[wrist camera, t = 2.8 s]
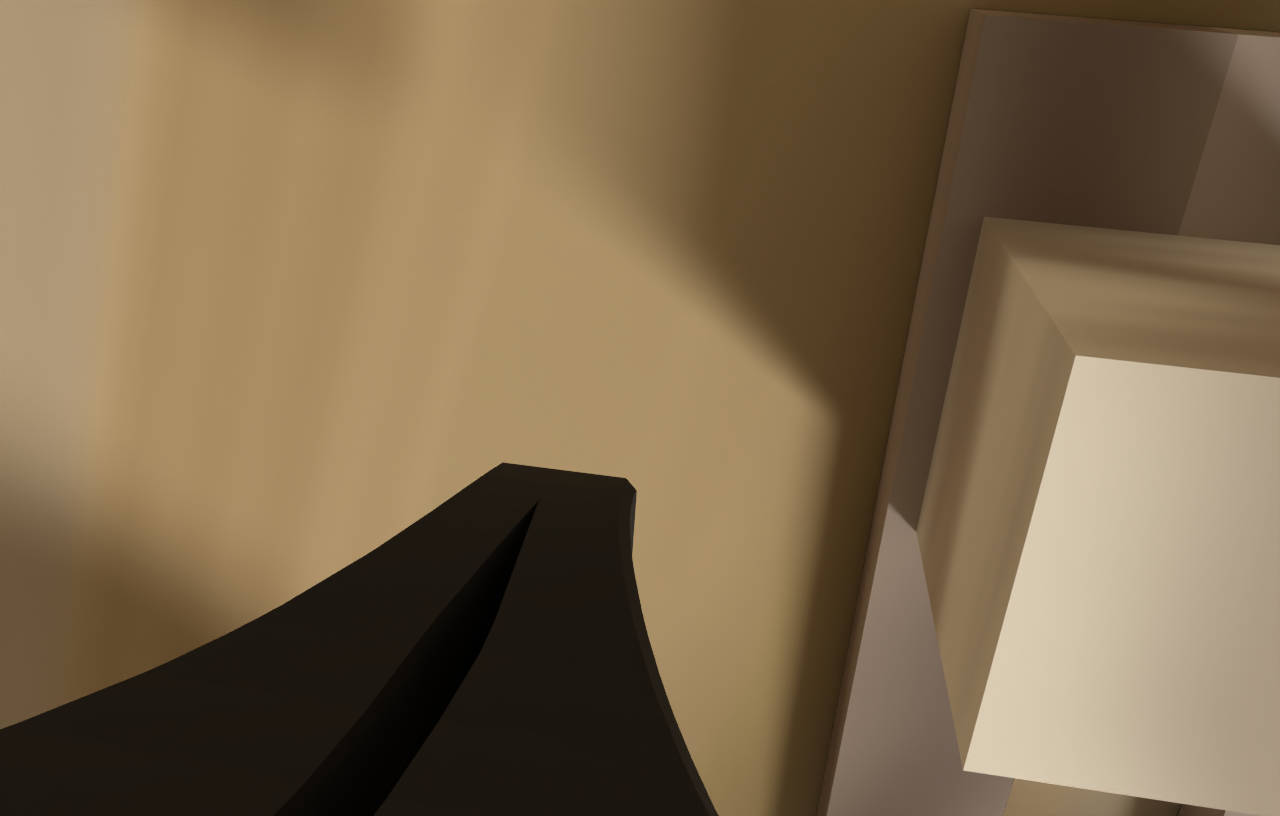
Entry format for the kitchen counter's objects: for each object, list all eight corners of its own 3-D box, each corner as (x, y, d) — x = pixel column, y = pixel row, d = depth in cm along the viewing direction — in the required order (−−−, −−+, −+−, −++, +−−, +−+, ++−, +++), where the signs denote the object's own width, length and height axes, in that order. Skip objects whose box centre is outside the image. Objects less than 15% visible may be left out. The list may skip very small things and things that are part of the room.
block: (916, 532, 16) (962, 770, 11) (984, 217, 14) (1075, 355, 9) (1253, 575, 15) (1444, 843, 11) (1379, 255, 13) (1684, 422, 9)
